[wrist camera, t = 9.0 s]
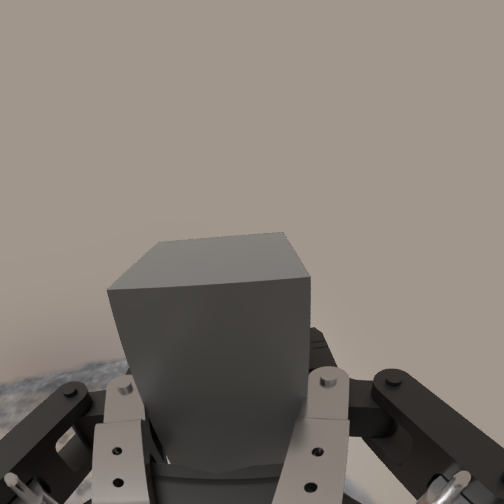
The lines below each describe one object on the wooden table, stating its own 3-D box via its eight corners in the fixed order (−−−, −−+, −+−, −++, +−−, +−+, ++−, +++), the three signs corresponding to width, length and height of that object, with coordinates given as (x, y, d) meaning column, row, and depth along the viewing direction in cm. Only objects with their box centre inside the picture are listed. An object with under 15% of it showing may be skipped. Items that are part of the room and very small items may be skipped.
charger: (200, 515, 9) (106, 289, 6) (207, 449, 14) (159, 241, 10) (296, 512, 9) (310, 276, 6) (286, 445, 14) (282, 231, 10)
